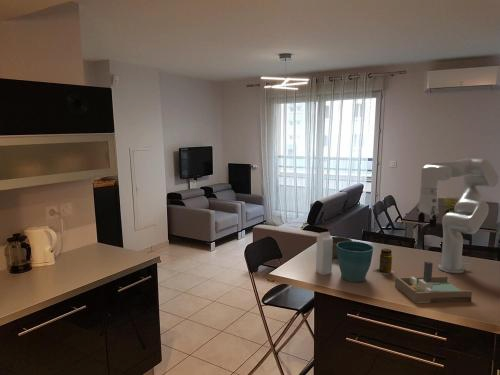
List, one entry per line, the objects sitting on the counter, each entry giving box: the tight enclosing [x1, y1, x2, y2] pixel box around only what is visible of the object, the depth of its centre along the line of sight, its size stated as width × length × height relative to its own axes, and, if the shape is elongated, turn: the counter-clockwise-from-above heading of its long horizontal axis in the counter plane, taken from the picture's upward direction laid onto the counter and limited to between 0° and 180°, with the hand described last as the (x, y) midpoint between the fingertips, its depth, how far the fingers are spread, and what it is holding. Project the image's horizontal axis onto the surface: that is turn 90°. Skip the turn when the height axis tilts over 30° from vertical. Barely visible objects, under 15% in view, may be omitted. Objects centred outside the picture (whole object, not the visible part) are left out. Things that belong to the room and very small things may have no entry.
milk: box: [315, 231, 333, 276], centre depth 192 cm, size 6×6×22 cm
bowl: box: [331, 236, 353, 259], centre depth 221 cm, size 17×18×10 cm
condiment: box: [373, 248, 395, 276], centre depth 194 cm, size 7×8×12 cm
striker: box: [418, 261, 440, 291], centre depth 166 cm, size 9×5×13 cm, turn 95°
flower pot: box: [337, 240, 375, 283], centre depth 184 cm, size 18×18×17 cm
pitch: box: [394, 275, 473, 304], centre depth 167 cm, size 26×18×5 cm
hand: (426, 224), depth 183 cm, fingers open, 9 cm apart
